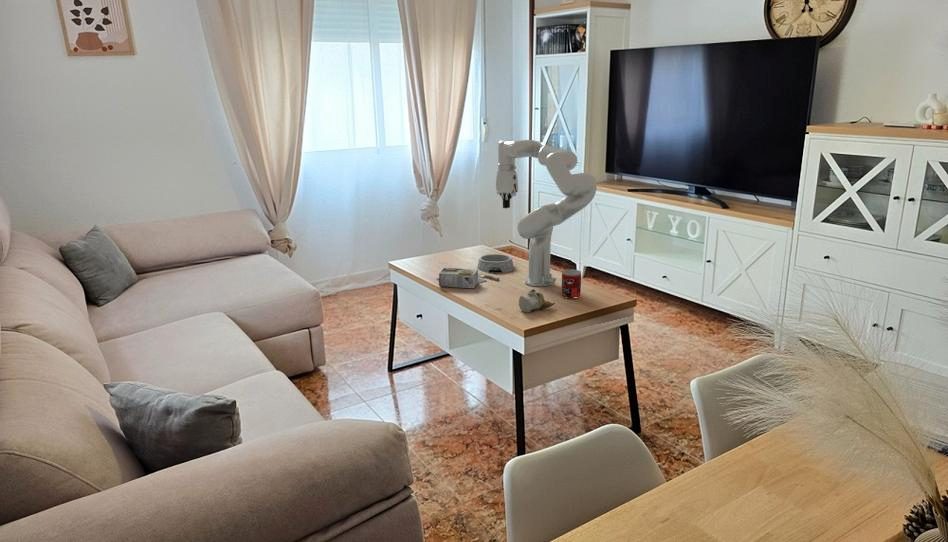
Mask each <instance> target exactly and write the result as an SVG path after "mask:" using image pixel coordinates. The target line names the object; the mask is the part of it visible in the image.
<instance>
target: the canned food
mask: <svg viewBox="0 0 948 542" xmlns="http://www.w3.org/2000/svg"><path fill="white" fill-rule="evenodd" d="M561 272H562V273H561V297H562V296H563V297H567V298H574V297H579V296H580V297H581V291H582V290H581V289H582V271H581V270H579V269H572V268H571V269H570V268H569V269H563V270H562V271H561ZM563 297H562V298H563ZM580 297H579V298H580Z"/></svg>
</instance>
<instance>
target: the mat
mask: <svg viewBox="0 0 948 542" xmlns="http://www.w3.org/2000/svg"><path fill="white" fill-rule="evenodd" d="M436 280H437V281H439V277H438V278H436ZM484 282H487V280H486V279H485V278H480V277H478V283H477V285H479V284H481V283H484Z"/></svg>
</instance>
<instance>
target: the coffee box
mask: <svg viewBox="0 0 948 542" xmlns="http://www.w3.org/2000/svg"><path fill="white" fill-rule="evenodd" d="M478 272H479V270H478V269H477V268H475V269H473V268H471V269H470V268H458V267H457V268H453V267H451V268H450V267H444V268H443V269H442V270H441V271H440V272H439V273H438V278H439V280H438V285H439V287H444V288H445V287H447V288H448V287H449V288H461V289H475V287H476V286H477V285H478V284H477V283H478V278H479V277H478Z"/></svg>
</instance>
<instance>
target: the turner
mask: <svg viewBox="0 0 948 542" xmlns="http://www.w3.org/2000/svg"><path fill="white" fill-rule="evenodd" d="M478 278H480V279H488V280H492V281H496V282H498V281H500V277H499V276H494V275H490V274H486V273H484V272H483V273H482V272H480V271H478Z"/></svg>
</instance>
